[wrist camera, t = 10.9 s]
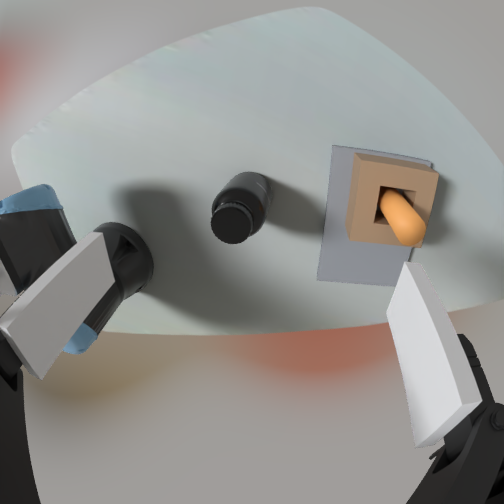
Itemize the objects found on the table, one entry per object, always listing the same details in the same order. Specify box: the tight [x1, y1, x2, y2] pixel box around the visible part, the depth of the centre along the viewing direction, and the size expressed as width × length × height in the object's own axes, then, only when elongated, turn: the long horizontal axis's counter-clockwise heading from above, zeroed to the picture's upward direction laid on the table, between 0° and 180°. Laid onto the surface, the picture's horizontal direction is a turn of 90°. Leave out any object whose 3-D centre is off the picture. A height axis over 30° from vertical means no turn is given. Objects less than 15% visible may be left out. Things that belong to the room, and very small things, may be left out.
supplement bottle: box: [211, 172, 272, 244], centre depth 37 cm, size 7×7×12 cm
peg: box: [377, 186, 426, 246], centre depth 33 cm, size 4×4×12 cm
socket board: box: [317, 145, 439, 287], centre depth 39 cm, size 15×22×6 cm
